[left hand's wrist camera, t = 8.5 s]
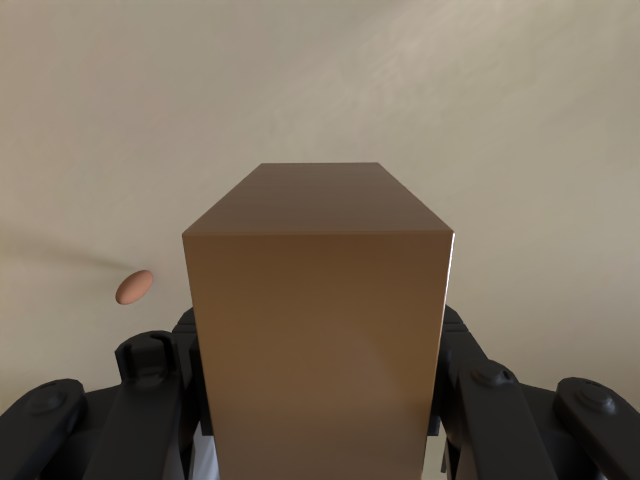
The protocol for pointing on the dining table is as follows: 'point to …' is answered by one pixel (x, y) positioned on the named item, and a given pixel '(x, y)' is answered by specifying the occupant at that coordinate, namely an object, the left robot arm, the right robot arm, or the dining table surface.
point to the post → (319, 322)
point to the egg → (134, 287)
